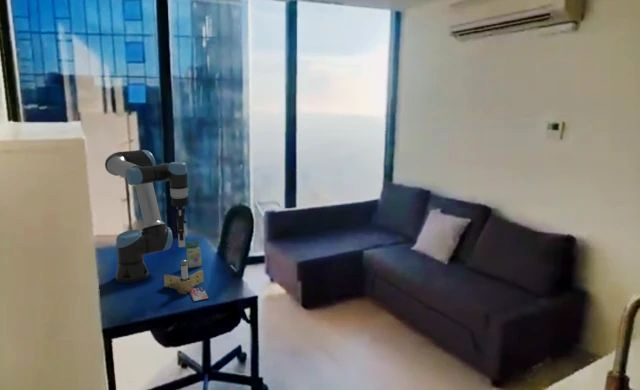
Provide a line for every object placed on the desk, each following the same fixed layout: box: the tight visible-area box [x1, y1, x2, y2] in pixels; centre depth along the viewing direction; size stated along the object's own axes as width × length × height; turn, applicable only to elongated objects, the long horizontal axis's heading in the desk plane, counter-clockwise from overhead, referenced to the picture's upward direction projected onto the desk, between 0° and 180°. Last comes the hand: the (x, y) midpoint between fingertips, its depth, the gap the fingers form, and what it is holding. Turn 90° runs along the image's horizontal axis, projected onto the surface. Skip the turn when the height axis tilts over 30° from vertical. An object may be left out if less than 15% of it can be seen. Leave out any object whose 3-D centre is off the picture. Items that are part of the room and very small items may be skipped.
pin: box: [179, 259, 189, 281], centre depth 210 cm, size 3×3×15 cm
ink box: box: [185, 240, 203, 269], centre depth 240 cm, size 7×4×13 cm, turn 120°
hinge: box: [163, 269, 204, 295], centre depth 217 cm, size 15×16×6 cm
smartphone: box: [188, 285, 211, 303], centre depth 209 cm, size 8×1×15 cm
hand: (182, 241), depth 207 cm, fingers open, 13 cm apart
